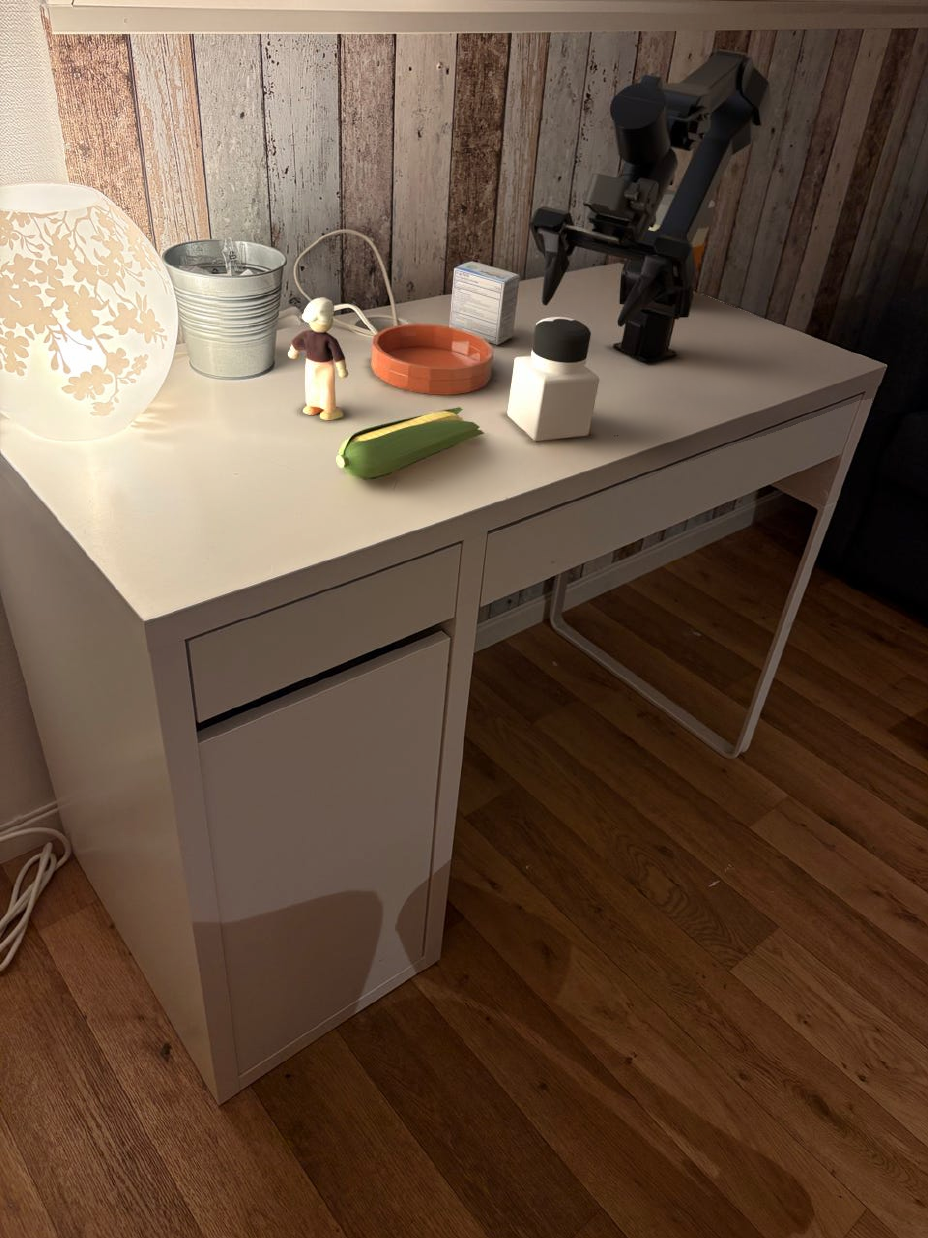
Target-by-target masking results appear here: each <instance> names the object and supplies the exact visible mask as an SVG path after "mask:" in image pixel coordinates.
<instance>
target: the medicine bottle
mask: <svg viewBox="0 0 928 1238" xmlns="http://www.w3.org/2000/svg"><path fill="white" fill-rule="evenodd" d="M591 335H592V333H591V330H590V328H589V327H588V326H587V325H586V324H584V323H583V322H581V321H579V320H576V319H573V318H570V317H565V316H551V317H547V318H543V319H541V320H539V321H538V322H537V323H536V324H535V327H534V333H533V340H532V347H531V353H530V355H523V356H516V357H515V358H514V362H513V370H512V376H511V377H512V378H511V385H510V391H509V392H510V393H509V399H508V406H507V416H508V417H509V418H510V419H511V420H512V421H513V422H514V423H515V424H516V425H517V426H518V427H519V428H520V429H521V430H522V431H523V432H524V433H525V434H527V436H529V437H530V439H531V440H533V441H534V442H540V441H541V442H542V441H543V442H544V441H551V440H559V439H569V438H570V439H571V438H579V437H587V436H589V434H590V430H591V425H592V419H593V415H594V409H595V404H596V400H597V399H596V398H597V394H598V388H599V384H600V376H598V374H596V373H595V372H593V371H592V370H591V369H590V368H588V367H587V366H586V363H587V358H588V352H589V347H590V341H591V337H592V336H591Z"/></svg>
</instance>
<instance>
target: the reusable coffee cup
mask: <svg viewBox="0 0 928 1238" xmlns="http://www.w3.org/2000/svg"><path fill="white" fill-rule="evenodd" d="M676 191H677V189H674V188H667V191H666V193H665V195H664V197H663V199H662V201H661V203H660V206H659V208H658V210H657V212H656V223H655V225H654V227H653V228H651V227H649V229H648V230H652V231H655V230H657V229H658V228H659V227H660V225H661V223H662V221H663V219H664V217H665V215H666V212H667V210H668V208H669V206H670V204H671V202H672V200H673V197H674V195H675V193H676ZM715 207H716V203H715V202H714V200H713V199H712V200H711V202H710V204H709V207H708V209H707V211H706V213H705V215H704V217H703V220H702V222H701V224H700V226H699V228H698V230H697V233H696V235H695V237H694V239H693V241H692V245H693V247H694V255H695V264H696V271H697V269H698V266H699V263H700V260H701V258H702V255H703V252H704V249H705V247H706V244H707V243H706V241H705V238H706V236H707V235H708V231H709V228H710V227H711V226H712V225H713V221H714V214H715ZM626 260H627V259H625V261H626ZM696 271H695V273H696Z"/></svg>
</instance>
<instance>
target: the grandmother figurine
mask: <svg viewBox="0 0 928 1238" xmlns="http://www.w3.org/2000/svg"><path fill="white" fill-rule="evenodd" d="M334 315H335V304H333V301H332V300H331V299H328V298H326V297H325V296H323V297H317V298H314V299H312V300H311V301H310V302H309V303H308V304H307V306H306V307H305V308H304V311H303V314H302V315H301V317H302V321H304V322H305V323H308V324H309V326H310V328H311V329H307V330H304V331H301V332H300V333H298V334H297V335H296V336H294V338H292V339H291V341H290V342H291V345H290V349H289V351H288V352H287V355H288V357H289V358H290V359H292V360H295V359H297V357H298V355H299V353H300V352H301V351H305V370H304V371H305V372H304V388H305V403H306V406H305V407H304V408H303V410H302V412H303V413H304V414H305V415H309V416H314V415H317V414H319V413H320V414H319V418H320V419H322V420H324V421H333V420H337V419H340V418H343V417H344V412H343V410H342V409H341V408H340V407H338V406H337V400H336V370H335V366H336V368H337V370H338V377H339V378H341V379H346V378H347V377H348V376H349V370H348V369H347V362H346V357H345V354H344V352H343V349H342V348H341V345H340V342H339V341H338V339H337V338H336V337H335V336H333V335H331V334H330V333H328V331H329V330H331V328H332V327H333V325H334Z"/></svg>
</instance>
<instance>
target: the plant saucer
mask: <svg viewBox="0 0 928 1238" xmlns="http://www.w3.org/2000/svg"><path fill="white" fill-rule="evenodd" d="M372 338H373V339H372V343H371V362H370V363H371V364H370V365H371V369H372V372H373V373H374V375H376V376H377V377H378V378H379V379H380V380H382V381H383V382H385V383H387V384H389V385H391V386H393V387H395V388H399V389H402V390H406V391H409V392H415V393H420V394H426V395H427V394H429V395H459V394H465V393H469V392H473V391H476V390H479V389H481V388H483V387H484V386H486V385H487V384H488V383H489V381H490V380H491V378H492V371H493V363H494V362H493V361H494V347H493V346H492V345H491V343H490V342H487V341H486V340H485V339H483V338H481V337H479V336H477V335H476V334H474V333H471V332H468V331H465V330H461V329H458V328H454V327H449V326H447V325H441V324H437V323H436V324H435V323H408V324H398V325H393V326H390V327H385V328H384V329H381V330H379V332H377V333H376V334H374V336H373V337H372Z"/></svg>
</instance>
